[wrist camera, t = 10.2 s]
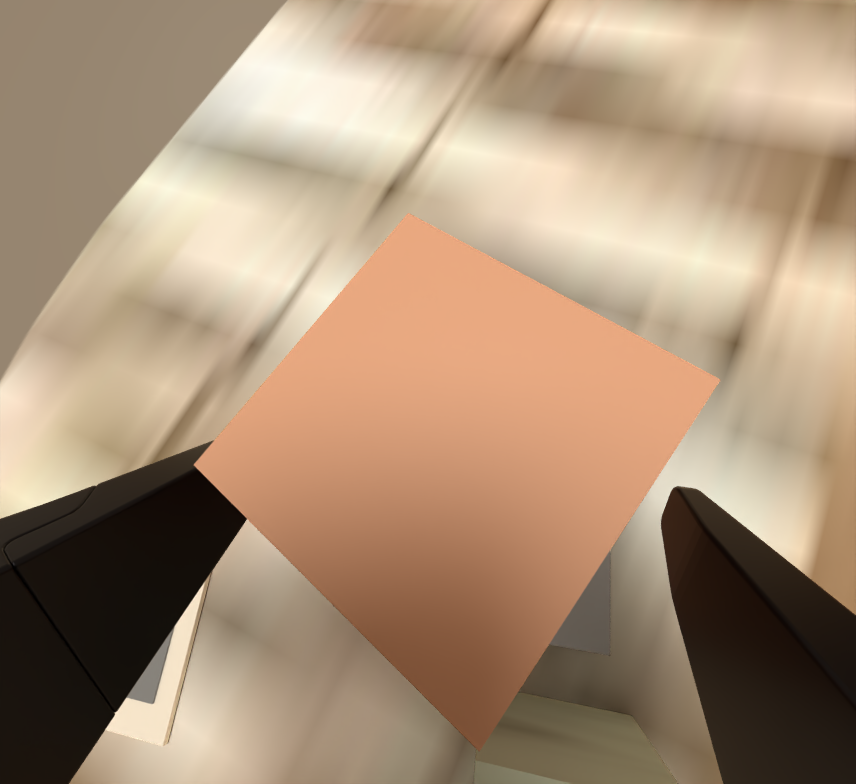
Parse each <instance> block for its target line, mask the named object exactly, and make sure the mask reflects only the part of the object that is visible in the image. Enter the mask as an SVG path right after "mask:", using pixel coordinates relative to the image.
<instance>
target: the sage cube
mask: <svg viewBox="0 0 856 784" xmlns="http://www.w3.org/2000/svg"><path fill="white" fill-rule="evenodd" d="M473 784H678V783H677V781H676V780H675V778H674V777H673V775H672V774H671V772H670V771H669V769H668V768H667V766H666V765H665V764H664V762H663V761H662V759H661V758H660V756H659V755H658V753H657V752H656V750H655V749H654V747H653V746H652V744H651V743H650V741H649V740H648V739H647V737H646V736H645V734H644V733H643V731H642V730H641V728H640V727H639V725H638V724H637V722H636V721H635V719H634V718H633V717H632V715H627V714H622V713H617V712H613V711H608V710H603V709H598V708H593V707H589V706H584V705H579V704H574V703H569V702H565V701H560V700H555V699H550V698H545V697H540V696H536V695H531V694H526V693H521V692H518V693H517V695H516V696H515V698H514V699H513V701H512V702H511V704H510V705H509V707H508V708H507V710H506V712H505V713H504V715H503V716H502V718H501V719H500V721H499V722H498V724H497V725H496V727H495V728H494V730H493V732H492V733H491V735H490V736H489V738H488V739H487V741H486V742H485V744H484V745H483V747H482V749H481V750H480V752H479V751H478V750H477V749H476V757H475V769H474V782H473Z"/></svg>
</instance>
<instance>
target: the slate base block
mask: <svg viewBox="0 0 856 784" xmlns="http://www.w3.org/2000/svg"><path fill="white" fill-rule="evenodd" d="M333 606H334V605H333ZM549 645H553V646H558V647H564V648H569V649H575V650H580V651H586V652H592V653H597V654H603V655H608V656H610V551H609V553H608V554H607V556H606V557H605V559H604V560H603V562H602V563H601V565H600V567H599V568H598V570H597V571H596V573H595V574H594V576H593V577H592V579H591V580H590V582H589V584H588V585H587V587H586V588H585V590H584V591H583V593H582V594H581V596H580V597H579V599H578V600H577V602H576V604H575V605H574V607H573V608H572V610H571V611H570V613H569V614H568V616H567V617H566V619H565V621H564V622H563V624H562V625H561V627H560V628H559V630H558V631H557V633H556V634H555V636H554V637H553V639H552V641H551V642H550V644H549Z"/></svg>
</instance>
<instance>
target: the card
mask: <svg viewBox="0 0 856 784" xmlns="http://www.w3.org/2000/svg"><path fill="white" fill-rule="evenodd" d="M210 575H211V573H210ZM210 575H209V576H208V578H207V579H206V581H205V582H204V584H203V585H202V587H201V588H200V590H199V591H198V593H197V594H196V596H195V597H194V599H193V600H192V601H191V603H190V604H189V606H188V607H187V609H186V610H185V612H184V613H183V615H182V616H181V618H180V619H179V621H178V622H177V624H176V625H175V627H174V628H173V630H172V631H171V633H170V634H169V636H168V637H167V639H166V640H165V641H164V643H163V644H162V646H161V647H160V649H159V650H158V652H157V653H156V655H155V656H154V658H153V659H152V661H151V662H150V664H149V665H148V667H147V668H146V670H145V671H144V673H143V674H142V676H141V677H140V679H139V680H138V681H137V683H136V684H135V686H134V687H133V689H132V690H131V692H130V693H129V695H128V696H127V698H126V699H125V701H124V702H123V704H122V705H121V707H120V708H119V710H118V711H117V712H115V716H114V718H113V719H112V720H111V722H110V723H109V725H108V726H107V728H106V729H105V730H107V731H110V732H114V733H117V734H121V735H124V736H128V737H131V738H135V739H138V740H142V741H145V742H149V743H153V744H156V745H160V746H164V745H166V744H167V743H168V740H169V736H170V732H171V728H172V724H173V720H174V716H175V712H176V708H177V704H178V701H179V697H180V693H181V689H182V685H183V681H184V677H185V673H186V669H187V665H188V661H189V657H190V654H191V650H192V646H193V642H194V638H195V634H196V630H197V626H198V622H199V618H200V614H201V610H202V606H203V603H204V599H205V595H206V591H207V587H208V583H209V579H210Z"/></svg>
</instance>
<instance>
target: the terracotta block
mask: <svg viewBox="0 0 856 784" xmlns="http://www.w3.org/2000/svg"><path fill="white" fill-rule="evenodd" d="M719 381H720V379H718V378H716V377H715V376H713V375H711V374H709V373H707V372H705V371H703V370H701V369H700V368H698V367H696V366H694V365H692V364H690V363H688V362H686V361H685V360H683V359H681V358H679V357H677V356H675V355H673V354H672V353H670V352H668V351H666V350H664V349H662V348H660V347H658V346H657V345H655V344H653V343H651V342H649V341H647V340H645V339H643V338H642V337H640V336H638V335H636V334H634V333H632V332H630V331H628V330H627V329H625V328H623V327H621V326H619V325H617V324H615V323H613V322H612V321H610V320H608V319H606V318H604V317H602V316H600V315H598V314H597V313H595V312H593V311H591V310H589V309H587V308H585V307H583V306H582V305H580V304H578V303H576V302H574V301H572V300H570V299H568V298H567V297H565V296H563V295H561V294H559V293H557V292H555V291H553V290H552V289H550V288H548V287H546V286H544V285H542V284H540V283H538V282H537V281H535V280H533V279H531V278H529V277H527V276H525V275H523V274H522V273H520V272H518V271H516V270H514V269H512V268H510V267H508V266H507V265H505V264H503V263H501V262H499V261H497V260H495V259H494V258H492V257H490V256H488V255H486V254H484V253H482V252H480V251H479V250H477V249H475V248H473V247H471V246H469V245H467V244H465V243H464V242H462V241H460V240H458V239H456V238H454V237H452V236H450V235H449V234H447V233H445V232H443V231H441V230H439V229H437V228H435V227H434V226H432V225H430V224H428V223H426V222H424V221H422V220H420V219H419V218H417V217H415V216H413V215H411V214H409V213H408V214H407V215H406V216H405V217H404V219H403V220H402V221H401V222H400V223H399V225H398V226H397V227H396V228H395V229H394V230H393V232H392V233H391V234H390V235H389V236H388V237H387V239H386V240H385V241H384V242H383V243H382V244H381V246H380V247H379V248H378V249H377V250H376V251H375V253H374V254H373V255H372V256H371V257H370V259H369V260H368V261H367V262H366V263H365V264H364V266H363V267H362V268H361V269H360V270H359V271H358V273H357V274H356V275H355V276H354V277H353V278H352V280H351V281H350V282H349V283H348V284H347V285H346V287H345V288H344V289H343V290H342V291H341V293H340V294H339V295H338V296H337V297H336V298H335V300H334V301H333V302H332V303H331V304H330V305H329V307H328V308H327V309H326V310H325V311H324V312H323V314H322V315H321V316H320V317H319V318H318V320H317V321H316V322H315V323H314V324H313V325H312V327H311V328H310V329H309V330H308V331H307V332H306V334H305V335H304V336H303V337H302V338H301V339H300V341H299V342H298V343H297V344H296V345H295V346H294V348H293V349H292V350H291V351H290V352H289V354H288V355H287V356H286V357H285V358H284V359H283V361H282V362H281V363H280V364H279V365H278V366H277V368H276V369H275V370H274V371H273V372H272V373H271V375H270V376H269V377H268V378H267V379H266V380H265V382H264V383H263V384H262V385H261V386H260V388H259V389H258V390H257V391H256V392H255V393H254V395H253V396H252V397H251V398H250V399H249V400H248V402H247V403H246V404H245V405H244V406H243V407H242V409H241V410H240V411H239V412H238V413H237V415H236V416H235V417H234V418H233V419H232V420H231V422H230V423H229V424H228V425H227V426H226V427H225V429H224V430H223V431H222V432H221V433H220V434H219V436H218V437H217V438H216V439H215V440H214V441H213V443H212V444H211V445H210V446H209V447H208V449H207V450H206V451H205V452H204V453H203V454H202V456H201V457H200V458H199V459H198V460H197V461H196V463H195V464H194V466H195V467H196V468H197V469H198V470H199V471H200V472H201V473H202V474H203V475H204V476H205V477H206V478H207V479H208V480H209V481H210V482H211V483H212V484H213V485H214V486H215V487H216V488H217V489H218V490H219V491H220V492H221V493H222V494H223V495H224V496H225V497H226V498H227V499H228V500H229V501H230V502H231V503H232V504H233V505H234V506H235V507H236V508H237V509H238V510H239V511H240V512H241V513H242V514H243V515H244V516H245V517H246V518H247V519H248V520H249V521H250V522H251V523H252V524H253V525H254V526H255V527H256V528H257V529H258V530H259V531H260V532H261V533H262V534H263V535H264V536H265V537H266V538H267V539H268V540H269V541H270V542H271V543H272V544H273V545H274V546H275V547H276V548H277V549H278V550H279V551H280V552H281V553H282V554H283V555H284V556H285V557H286V558H287V559H288V560H289V561H290V562H291V563H292V564H293V565H294V566H295V567H296V568H297V569H298V570H299V571H300V572H301V573H302V574H303V575H304V576H305V577H306V578H307V579H308V580H309V581H310V582H311V583H312V584H313V585H314V586H315V587H316V588H317V589H318V590H319V591H320V592H321V593H322V594H323V595H324V596H325V597H326V598H327V599H328V600H329V601H330V602H331V603H332V604H333V605H334V606H335V607H336V608H337V609H338V610H339V611H340V612H341V613H342V614H343V615H344V616H345V617H346V618H347V619H348V620H349V622H350V623H351V624H352V625H353V626H354V627H355V628H356V629H357V630H358V631H359V632H360V633H361V634H362V635H363V636H364V637H365V638H366V639H367V640H368V641H369V642H370V643H371V644H372V645H373V646H374V647H375V648H376V649H377V650H378V651H379V652H380V653H381V654H382V655H383V656H384V657H385V658H386V659H387V660H388V661H389V662H390V663H391V664H392V665H393V666H394V667H395V668H396V669H397V670H398V671H399V672H400V673H401V674H402V675H403V676H404V677H405V678H406V679H407V680H408V681H409V682H410V683H411V684H412V685H413V686H414V687H415V688H416V689H417V690H418V691H419V692H420V693H421V694H422V695H423V696H424V697H425V698H426V699H427V700H428V701H429V702H430V703H431V704H432V705H433V706H434V707H435V708H436V709H437V710H438V711H439V712H440V713H441V714H442V715H443V716H444V717H445V718H446V719H447V720H448V721H449V722H450V723H451V724H452V725H453V726H454V727H455V728H456V729H457V730H458V731H459V732H460V733H461V734H462V735H463V736H464V737H465V738H466V739H467V740H468V741H469V742H470V743H471V744H472V745H473V746H474V747H475V748H476V749H477V750H478V751H479V752H480V750H481V749H482V747H483V745H484V744H485V742H486V741H487V739H488V738H489V736H490V735H491V733H492V732H493V730H494V728H495V727H496V725H497V724H498V722H499V721H500V719H501V718H502V716H503V715H504V713H505V712H506V710H507V708H508V707H509V705H510V704H511V702H512V701H513V699H514V698H515V696H516V695H517V693H518V691H519V690H520V688H521V687H522V685H523V684H524V682H525V681H526V679H527V678H528V676H529V674H530V673H531V671H532V670H533V668H534V667H535V665H536V664H537V662H538V661H539V659H540V658H541V656H542V654H543V653H544V651H545V650H546V648H547V647H548V645H549V644H550V642H551V641H552V639H553V637H554V636H555V634H556V633H557V631H558V630H559V628H560V627H561V625H562V624H563V622H564V621H565V619H566V617H567V616H568V614H569V613H570V611H571V610H572V608H573V607H574V605H575V604H576V602H577V600H578V599H579V597H580V596H581V594H582V593H583V591H584V590H585V588H586V587H587V585H588V584H589V582H590V580H591V579H592V577H593V576H594V574H595V573H596V571H597V570H598V568H599V567H600V565H601V563H602V562H603V560H604V559H605V557H606V556H607V554H608V553H609V551H610V550H611V548H612V546H613V545H614V543H615V542H616V540H617V539H618V537H619V536H620V534H621V533H622V531H623V530H624V528H625V526H626V525H627V523H628V522H629V520H630V519H631V517H632V516H633V514H634V513H635V511H636V509H637V508H638V506H639V505H640V503H641V502H642V500H643V499H644V497H645V496H646V494H647V493H648V491H649V489H650V488H651V486H652V485H653V483H654V482H655V480H656V479H657V477H658V476H659V474H660V472H661V471H662V469H663V468H664V466H665V465H666V463H667V462H668V460H669V459H670V457H671V455H672V454H673V452H674V451H675V449H676V448H677V446H678V445H679V443H680V442H681V440H682V439H683V437H684V435H685V434H686V432H687V431H688V429H689V428H690V426H691V425H692V423H693V422H694V420H695V418H696V417H697V415H698V414H699V412H700V411H701V409H702V408H703V406H704V405H705V403H706V402H707V400H708V398H709V397H710V395H711V394H712V392H713V391H714V389H715V388H716V386H717V385H718V383H719Z"/></svg>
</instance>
